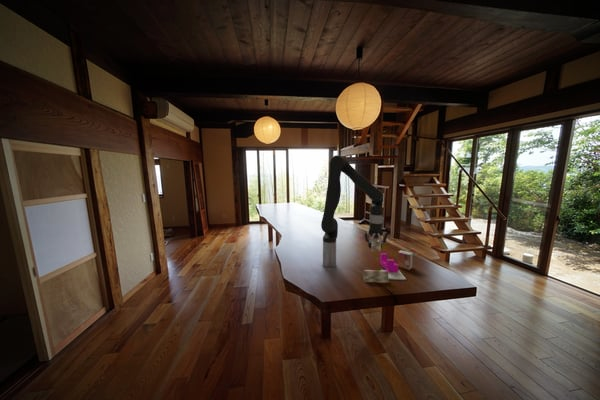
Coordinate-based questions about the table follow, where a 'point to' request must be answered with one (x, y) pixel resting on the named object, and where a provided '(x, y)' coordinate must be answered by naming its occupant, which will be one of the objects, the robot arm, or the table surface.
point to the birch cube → (375, 245)
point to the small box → (405, 259)
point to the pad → (395, 275)
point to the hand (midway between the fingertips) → (375, 248)
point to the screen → (376, 276)
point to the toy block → (388, 263)
